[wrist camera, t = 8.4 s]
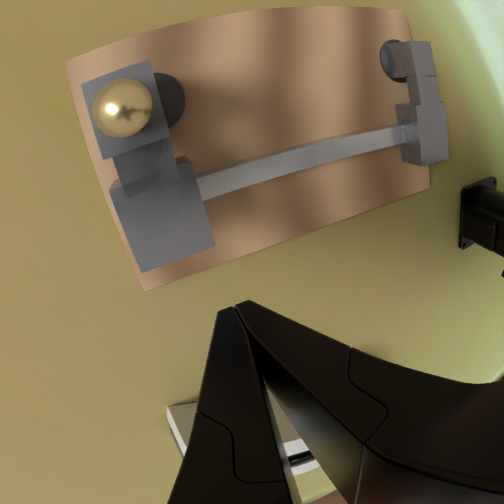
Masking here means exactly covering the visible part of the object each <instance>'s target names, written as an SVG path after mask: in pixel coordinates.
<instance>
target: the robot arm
mask: <svg viewBox="0 0 504 504" xmlns="http://www.w3.org/2000/svg"><path fill="white" fill-rule="evenodd" d="M496 184H497V180H496V178H495V177H490V178H487V179H485V180H482V181H480V182H477V183H475V184H473V185H470V186H468V187H465V188H463V190H462V192H461V217H460V234H459V248H460V249H462V250H464V249H465V248H467V247H469V246H471V245H472V244H474V243H476V244H478V245H480V246H482V247H483V248H485V249H487V250H489V251H493V252H495V253H496V254H498V255H500V256H502V257H504V193H503V192H501V191H498V190H496ZM501 276H502V277H503V278H504V270H503V272H502V275H501ZM264 382H265V383H266V385H267V387H268V389H269V390H270V392H271V393H272V395H273V397H274V398H275V400H276V401H277V403H278V404H279V406H280V407H281V409H282V410H283V412H284V413H285V415H286V416H287V418H288V419H289V421H290V422H291V424H292V425H293V427H294V428H295V430H296V431H297V433H298V434H299V436H300V437H301V439H302V440H303V442H304V443H305V444H306V446H307V447H308V449H309V450H310V452H311V453H312V455H313V456H314V457H315V459H316V460H317V462H318V463H319V465H320V466H321V467H322V469H323V470H324V472H325V473H326V474H327V476H328V477H329V479H330V480H331V481H332V483H333V484H334V485H335V487H336V488H337V490H338V491H339V492H340V493H341V495H342V496H343V498H344V499H345V500H346V502H347V503H348V504H504V380H500V381H496V382H492V383H484V384H472V383H464V382H459V381H455V380H451V379H447V378H443V377H439V376H436V375H432V374H428V373H424V372H421V371H417V370H414V369H410V368H407V367H403V366H400V365H397V364H394V363H391V362H388V361H385V360H382V359H380V358H377V357H375V356H372V355H369V354H367V353H365V352H362V351H360V350H358V349H355V348H350V346H348V345H346V344H344V343H341V342H339V341H337V340H335V339H332V338H330V337H328V336H326V335H324V334H321V333H319V332H317V331H315V330H313V329H310V328H308V327H306V326H304V325H302V324H300V323H297V322H295V321H293V320H291V319H289V318H287V317H285V316H282V315H280V314H278V313H276V312H274V311H272V310H270V309H268V308H265V307H263V306H261V305H259V304H257V303H255V302H253V301H251V300H247V301H244V302H241V303H239V304H236V305H235V307H228V308H225V309H223V310H220V311H218V313H217V317H216V321H215V325H214V330H213V334H212V339H211V343H210V348H209V352H208V357H207V361H206V366H205V370H204V375H203V379H202V384H201V389H200V393H199V398H198V403H197V407H196V411H197V412H196V413H195V416H194V421H193V426H192V430H191V434H190V438H189V442H188V446H187V449H186V452H185V455H184V458H183V461H182V464H181V467H180V470H179V473H178V475H177V478H176V481H175V483H174V486H173V489H172V492H171V494H170V497H169V500H168V502H167V504H302V501H301V498H300V495H299V492H298V489H297V485H296V482H295V479H294V476H293V473H292V470H291V467H290V463H289V460H288V457H287V454H286V451H285V447H284V444H283V441H282V438H281V435H280V431H279V428H278V425H277V421H276V418H275V415H274V412H273V408H272V405H271V402H270V398H269V395H268V392H267V389H266V386H265V383H264Z"/></svg>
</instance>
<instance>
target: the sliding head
mask: <svg viewBox="0 0 504 504" xmlns="http://www.w3.org/2000/svg"><path fill="white" fill-rule="evenodd" d="M81 88H82V91H83V95H84V99H85V102H86V106H87V110H88V113H89V117H90V120H91V123H92V127H93V130H94V133H95V137H96V140H97V143H98V146H99V149H100V152H101V155H102V158H103V161H104V160H106V159H109V158H111V157H112V158H113V162H114V165H115V168H116V170H117V173H118V176H119V178H118V179H116V180H114V182H113V184H112V185H111V187H110V189H109V194H110V196H111V199H112V202H113V204H114V207H115V210H116V212H117V215H118V218H119V220H120V223H121V225H122V228H123V230H124V233H125V235H126V238H127V240H128V242H129V245H130V247H131V250H132V252H133V254H134V257H135V259H136V261H137V264H138V266H139V268H140V271H141V273H144V272H147V271H150V270H153V269H155V268H158V267H161V266H164V265H166V264H169V263H172V262H175V261H177V260H180V259H183V258H186V257H189V256H191V255H194V254H197V253H200V252H202V251H205V250H208V249H211V248H214V247H216V243H215V240H214V237H213V233H212V230H211V227H210V224H209V220H208V217H207V214H206V211H205V207H204V204H203V201H202V197H201V194H200V191H199V187H198V184H197V181H196V177H195V174H194V171H193V167H192V164H191V161H190V160H189V159H188V158H187V157H186V156H185V155H183V156H180V157H177V158H174V155H173V152H172V148H171V145H170V141H169V138H168V137H170V136H171V135H170V132H169V128H168V125H167V121H166V118H165V114H164V111H163V107H162V104H161V100H160V96H159V93H158V89H157V85H156V82H155V78H154V74H153V70H152V67H151V63H150V59H149V60H146V61H143V62H140V63H136V64H133V65H130V66H127V67H125V68H122V69H119V70H116V71H113V72H110V73H108V74H105V75H102V76H100V77H97V78H95V79H92V80H90V81H87V82H85V83H82V84H81Z"/></svg>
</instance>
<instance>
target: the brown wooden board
mask: <svg viewBox="0 0 504 504" xmlns="http://www.w3.org/2000/svg"><path fill="white" fill-rule="evenodd" d="M404 41H412V39H411V34H410V30H409V26H408V22H407V18H406V14H405V11H401V10H392V9H382V8H369V7H348V6H309V7H288V8H274V9H263V10H254V11H246V12H239V13H232V14H225V15H219V16H214V17H208V18H203V19H198V20H193V21H188V22H184V23H180V24H175V25H171V26H167V27H163V28H160V29H156V30H152V31H149V32H145V33H142V34H139V35H135V36H132V37H129V38H126V39H123V40H120V41H117V42H114V43H111V44H108V45H106V46H103V47H100V48H98V49H95V50H92V51H90V52H87V53H85V54H82V55H80V56H77V57H75V58H73V59H70V60H68V61H66V62H64V63H65V67H66V72H67V76H68V80H69V84H70V88H71V92H72V95H73V99H74V103H75V107H76V110H77V114H78V117H79V121H80V124H81V127H82V131H83V134H84V137H85V140H86V143H87V147H88V150H89V153H90V156H91V159H92V162H93V165H94V168H95V171H96V174H97V176H98V179H99V182H100V185H101V188H102V190H103V193H104V196H105V199H106V201H107V204H108V206H109V209H110V212H111V214H112V217H113V219H114V222H115V224H116V227H117V229H118V232H119V234H120V237H121V239H122V242H123V244H124V246H125V249H126V251H127V253H128V256H129V258H130V260H131V263H132V265H133V267H134V269H135V272H136V274H137V276H138V278H139V281H140V283H141V285H142V287H143V289H144V291H147V290H150V289H153V288H155V287H158V286H161V285H164V284H166V283H169V282H172V281H175V280H178V279H180V278H183V277H186V276H189V275H191V274H194V273H197V272H200V271H202V270H205V269H208V268H211V267H213V266H216V265H219V264H222V263H224V262H227V261H230V260H233V259H236V258H238V257H241V256H244V255H247V254H249V253H252V252H255V251H258V250H260V249H263V248H266V247H269V246H271V245H274V244H277V243H280V242H282V241H285V240H288V239H291V238H294V237H296V236H299V235H302V234H305V233H307V232H310V231H313V230H316V229H318V228H321V227H324V226H327V225H329V224H332V223H335V222H338V221H340V220H343V219H346V218H349V217H351V216H354V215H357V214H360V213H362V212H365V211H368V210H371V209H373V208H376V207H379V206H382V205H385V204H387V203H390V202H393V201H396V200H398V199H401V198H404V197H407V196H409V195H412V194H415V193H418V192H420V191H423V190H426V189H429V188H430V176H429V165H426V166H423V167H421V166H417V165H414V164H410V163H406V162H403V161H402V158H401V148H400V144H398V145H394V146H390V147H386V148H382V149H378V150H374V151H370V152H366V153H362V154H358V155H354V156H350V157H346V158H343V159H339V160H335V161H331V162H328V163H324V164H321V165H317V166H313V167H310V168H306V169H303V170H299V171H296V172H293V173H289V174H286V175H282V176H279V177H276V178H272V179H269V180H266V181H263V182H259V183H256V184H253V185H250V186H247V187H243V188H240V189H237V190H234V191H231V192H228V193H225V194H222V195H219V196H216V197H213V198H210V199H207V200H204V201H203V204H204V207H205V211H206V214H207V217H208V220H209V224H210V227H211V230H212V233H213V237H214V240H215V243H216V247H214V248H211V249H208V250H205V251H202V252H200V253H197V254H194V255H191V256H189V257H186V258H183V259H180V260H177V261H175V262H172V263H169V264H166V265H164V266H161V267H158V268H155V269H153V270H150V271H147V272H144V273H141V271H140V268H139V266H138V264H137V261H136V259H135V257H134V254H133V252H132V250H131V247H130V245H129V242H128V240H127V238H126V235H125V233H124V230H123V228H122V225H121V223H120V220H119V218H118V215H117V212H116V210H115V207H114V204H113V202H112V199H111V196H110V194H109V189H110V187H111V185H112V184H113V182H114V180H116V179H118V178H119V176H118V173H117V170H116V168H115V165H114V162H113V158H112V157H111V158H109V159H106V160H104V161H103V158H102V155H101V152H100V149H99V146H98V143H97V140H96V137H95V133H94V130H93V127H92V123H91V120H90V117H89V113H88V110H87V106H86V102H85V99H84V95H83V91H82V88H81V84H82V83H85V82H87V81H90V80H92V79H95V78H97V77H100V76H102V75H105V74H108V73H110V72H113V71H116V70H119V69H122V68H125V67H127V66H130V65H133V64H136V63H140V62H143V61H146V60H149V59H150V63H151V67H152V70H153V74H154V78H155V82H156V85H157V89H158V93H159V96H160V100H161V104H162V107H163V111H164V114H165V118H166V121H167V125H168V128H169V132H170V135H171V136H170V137H168V138H169V141H170V145H171V148H172V152H173V155H174V158H177V157H180V156H183V155H185V156H186V157H187V158H188V159H189V160H190V161H191V164H192V167H193V171H194V174H198V173H201V172H204V171H207V170H211V169H214V168H217V167H220V166H223V165H227V164H230V163H233V162H237V161H240V160H243V159H247V158H250V157H254V156H257V155H261V154H264V153H268V152H271V151H275V150H279V149H283V148H286V147H290V146H294V145H298V144H302V143H306V142H310V141H314V140H318V139H322V138H327V137H331V136H335V135H340V134H344V133H349V132H353V131H358V130H363V129H368V128H372V127H377V126H383V125H388V124H393V123H397V115H396V108H395V104H400V103H408V102H410V99H409V92H408V86H407V80H406V77H404V78H392V75H391V70H390V65H389V60H388V55H387V51H386V46H385V45H386V44H391V43H398V42H404Z"/></svg>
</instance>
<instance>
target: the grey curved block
mask: <svg viewBox="0 0 504 504" xmlns="http://www.w3.org/2000/svg"><path fill="white" fill-rule="evenodd" d="M267 392H268V395H269V398H270V402H271V405H272V408H273V412H274V415H275V418H276V421H277V425H278V428H279V431H280V435H281V438H282V441H283V444H284V447H285V451H286V454H287V457H288V460H289V463H290V467H291V470H292V473H293V476H295V475H298V474H301V473H304V472H307V471H309V470H312V469H315V468H317V467H319V466H320V465H319V463H318V462H317V460H316V459H315V457H314V456H313V455H312V453H311V452H310V450H309V449H308V447H307V446H306V444H305V443H304V442H303V440H302V439H301V437H300V436H299V434H298V433H297V431H296V430H295V428H294V427H293V425H292V424H291V422H290V421H289V419H288V418H287V416H286V415H285V413H284V412H283V410H282V409H281V407H280V406H279V404H278V403H277V401H276V400H275V398H274V397H273V395H272V393H271V392H270V390H269V389H268V390H267ZM197 403H198V402H197ZM197 403H190V404H182V405H174V406H168V407H167V418H168V421H169V423H170V426H171V428H170V431H171V434H172V436H173V438H174V441H175V443H176V445H177V448H178V450H179V452H180V455H181V457H182V459H183V458H184V455H185V452H186V449H187V446H188V442H189V438H190V434H191V430H192V426H193V421H194V416H195V413H196V412H197V411H196V407H197Z"/></svg>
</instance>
